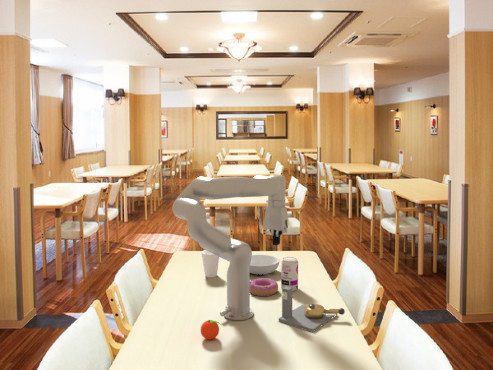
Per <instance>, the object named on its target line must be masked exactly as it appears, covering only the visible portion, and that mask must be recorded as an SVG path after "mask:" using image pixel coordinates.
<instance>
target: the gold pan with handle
mask: <svg viewBox="0 0 493 370" xmlns="http://www.w3.org/2000/svg"><path fill="white" fill-rule="evenodd" d="M324 313H337V315H338V314H339V315H341V316H343V315H344V314H345V313H346V311H345V309H344V308H343V307H340V308H326V307H324V306H323V305H321V304H316V303H309V304H308V305H306V306H305V311H304V315H305V316H306V317H308V318H312V319H319V318H322V317H324Z"/></svg>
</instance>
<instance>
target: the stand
mask: <svg viewBox="0 0 493 370" xmlns="http://www.w3.org/2000/svg"><path fill="white" fill-rule="evenodd" d="M306 305H308V304H307V303H303V304H301V305H300V306H298V307H296V308H294V309H293V291H292V288H291V287H288V286H286V287H284V288H281V309H282V310H281V316H280V317H278V322H280V323H282V322H283V324H285V325H286V324H287V325H289V326H293V327H295V326H296V328H298V327H299V328H298V329H301V328H303V329H302V330H304V329H306V331H308V330H309V331H308V332H311V331H314V330H315V331H317V330H318V329H319V327H320V326H321V325H323V324H324V323H326V322H327V321H328V320H330V319H331V318H332V317H334V316H335V315H337V316H338V314H337V313H324V317H322V318H319V319H312V318H308V317H306V316H305V315H304V311H305V306H306ZM334 318H335V317H334ZM331 320H332V319H331ZM331 320H330V321H331ZM328 322H329V321H328ZM328 322H327V323H328ZM327 323H326V324H327ZM324 325H325V324H324ZM324 325H323V326H324ZM321 327H322V326H321ZM321 327H320V328H321ZM317 328H318V329H317ZM316 329H317V330H316ZM315 331H314V332H315Z"/></svg>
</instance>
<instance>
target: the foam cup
mask: <svg viewBox="0 0 493 370" xmlns="http://www.w3.org/2000/svg"><path fill="white" fill-rule="evenodd" d="M201 258H202V264H203V270H204V271H203V272H204V276H205V277H206V278H216V277H218V270H219V262H220V257H218V256H216V255H215V254H213V253H211V252H209V251H207V250H205V249H203V250H202V251H201Z"/></svg>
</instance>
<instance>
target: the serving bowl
mask: <svg viewBox="0 0 493 370" xmlns="http://www.w3.org/2000/svg"><path fill="white" fill-rule="evenodd" d="M279 265H280V259H279V258H278V257H277V256H274V255H269V254H252V258H251V263H250V274H253V275H258V274H259V276H261V275H262V274H263V275H268V274H271V273H273V272H275V271H276V270H277V269H278V267H279Z"/></svg>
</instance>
